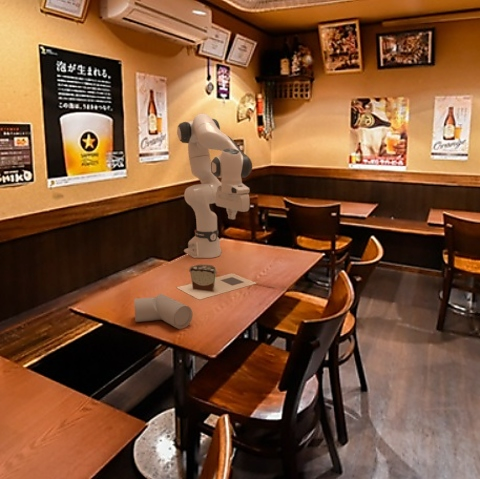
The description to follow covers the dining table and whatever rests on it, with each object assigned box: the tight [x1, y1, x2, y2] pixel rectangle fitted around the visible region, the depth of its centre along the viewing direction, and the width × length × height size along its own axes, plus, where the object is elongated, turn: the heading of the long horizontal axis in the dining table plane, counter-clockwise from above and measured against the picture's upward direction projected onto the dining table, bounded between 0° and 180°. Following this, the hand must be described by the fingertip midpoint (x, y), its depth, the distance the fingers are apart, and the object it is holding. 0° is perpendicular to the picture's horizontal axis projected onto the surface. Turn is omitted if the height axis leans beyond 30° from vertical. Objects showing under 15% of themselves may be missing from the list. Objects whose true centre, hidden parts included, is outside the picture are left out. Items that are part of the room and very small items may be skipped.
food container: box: [188, 264, 218, 292], centre depth 197 cm, size 12×6×10 cm, turn 72°
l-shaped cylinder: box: [133, 293, 194, 330], centre depth 164 cm, size 18×10×20 cm
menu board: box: [176, 272, 257, 301], centre depth 202 cm, size 18×31×1 cm, turn 129°
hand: (231, 218), depth 200 cm, fingers closed
